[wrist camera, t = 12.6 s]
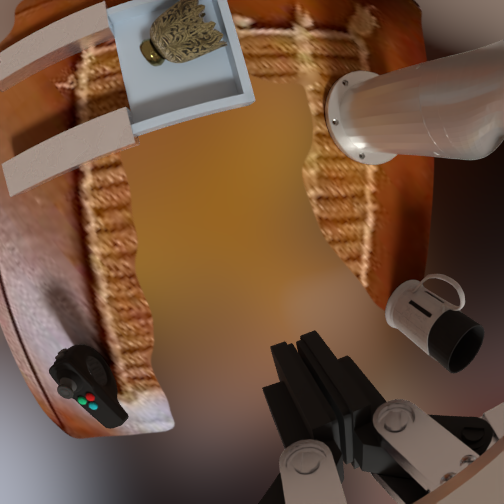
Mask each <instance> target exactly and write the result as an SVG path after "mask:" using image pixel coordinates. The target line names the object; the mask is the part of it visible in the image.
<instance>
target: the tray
mask: <svg viewBox="0 0 504 504" xmlns="http://www.w3.org/2000/svg"><path fill="white" fill-rule="evenodd" d="M178 1H180V0H132V1H129V2H126V3H123V4H120V5H117V6H114V7H111V8H108V9H107V14H108V17H109V19H110V21H111V23H112V25H113V30H114V36H115V41H116V46H117V51H118V56H119V61H120V66H121V70H122V75H123V79H124V84H125V88H126V92H127V97H128V101H129V105H130V109H131V113H132V117H133V121H134V124H133V125H131V127H132V130H133V134H135V135H137V136H139V135H142V134H145V133H148V132H151V131H154V130H157V129H160V128H163V127H167V126H170V125H173V124H177V123H180V122H184V121H187V120H191V119H194V118H197V117H202V116H205V115H209V114H213V113H217V112H221V111H225V110H230V109H234V108H238V107H243V106H248V105H250V104H252V103H253V102H254V101H255V97H254V94H253V90H252V86H251V83H250V79H249V75H248V71H247V68H246V64H245V61H244V57H243V54H242V50H241V47H240V43H239V40H238V36H237V33H236V30H235V26H234V23H233V20H232V16H231V13H230V10H229V6H228V3H227V0H199V3H198V5H200V4H202V5H205V10H204V12H203V13H205V14H206V15H205V16H204V18H203V17H202V18H203V21H204V22H210V21H213V22H215V23H216V25H215V27H214V29H217V30H218V31H219V32H221V33H222V34H223V37H222V39H221V40H220V41H224V42H227V43H226V44H227V46H224V47H221V48H219V49H217V50H214V51H212V52H210V53H207V54H205V55H203V56H200V57H198V58H196V59H193V60H191V61H188V62H184V63H172V62H170V61H168V60H165V61H164V63H163V64H162V65H161V66H157V67H154V66H152V65H150V64H149V63H148V62H147V61H146V59H145V58H144V57H143V55H142V54H141V52H140V49H139V45H140V43H141V42H142V41H143V40H145V39H148V38H150V28H151V26H152V24H153V22H154V21H155V20H156V19H157V18H158V17H159V16H160V15H161V14H162V13H163V12H165V11H166V10H167V9H169V8H170V7H171V6H173V5H174V4H175V3H177V2H178Z"/></svg>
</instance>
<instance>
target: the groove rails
mask: <svg viewBox="0 0 504 504" xmlns="http://www.w3.org/2000/svg"><path fill="white" fill-rule="evenodd" d="M107 9H108V7H107V5H106V2H105V1H103V2H101V3H98V4H95V5H93V6H90V7H88V8H85V9H83V10H80V11H78V12H76V13H73V14H71V15H69V16H67V17H65V18H62V19H60V20H58V21H56V22H54V23H52V24H50V25H48V26H46V27H44V28H42V29H40V30H38V31H36V32H34V33H33V34H31V35H29V36H27V37H25V38H24V39H22V40H20V41H18V42H17V43H15V44H13V45H12V46H10V47H9V48H7V49H5V50H4V51H2V52H1V53H0V91H1V92H4V91H6V90H7V89H9V88H10V87H12V86H14V85H15V84H17V83H19V82H21V81H22V80H24V79H26V78H28V77H29V76H31V75H33V74H35V73H37V72H39V71H41V70H43V69H44V68H46V67H48V66H50V65H52V64H54V63H56V62H59V61H61V60H63V59H65V58H67V57H69V56H72V55H74V54H76V53H78V52H81V51H83V50H85V49H88V48H90V47H93V46H95V45H98V44H100V43H103V42H106V41H108V40H111V39H114V38H115V36H114V30H113V25H112V23H111V21H110V19H109V17H108V14H107ZM133 124H134V121H133V117H132V113H131V111H130V110H129V109H128V108H127V107H123V108H121V109H118V110H115V111H113V112H110V113H107V114H105V115H102V116H100V117H97V118H95V119H92V120H90V121H87V122H85V123H83V124H80V125H78V126H76V127H73V128H71V129H69V130H67V131H65V132H62V133H60V134H58V135H56V136H54V137H52V138H50V139H48V140H46V141H44V142H42V143H40V144H38V145H36V146H34V147H32V148H30V149H28V150H26V151H24V152H22V153H21V154H19V155H17V156H15V157H13V158H12V159H10V160H8V161H6V162H5V163H3V164H2V167H3V171H4V175H5V179H6V183H7V187H8V190H9V194H10V197H12V196H15V195H19V194H22V193H25V192H27V191H29V190H31V189H33V188H35V187H37V186H39V185H41V184H43V183H45V182H47V181H50V180H52V179H54V178H56V177H58V176H61V175H63V174H65V173H67V172H70V171H72V170H74V169H77V168H79V167H81V166H84V165H86V164H89V163H91V162H94V161H96V160H99V159H101V158H104V157H106V156H109V155H112V154H114V153H117V152H120V151H122V150H125V149H127V148H130V147H133V146H136V145H139V144H140V143H139V139H138V136H137V135H135V134H133V130H132V127H131V125H133Z"/></svg>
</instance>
